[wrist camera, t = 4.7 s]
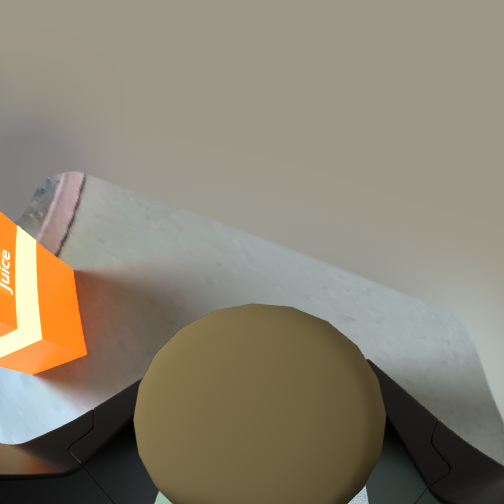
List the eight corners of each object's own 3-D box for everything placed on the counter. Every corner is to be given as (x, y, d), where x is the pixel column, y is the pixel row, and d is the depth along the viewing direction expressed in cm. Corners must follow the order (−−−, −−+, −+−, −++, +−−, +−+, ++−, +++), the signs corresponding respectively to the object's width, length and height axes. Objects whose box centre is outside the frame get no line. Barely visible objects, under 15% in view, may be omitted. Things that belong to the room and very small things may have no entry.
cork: (203, 374, 15) (64, 317, 6) (313, 334, 16) (345, 213, 6) (240, 480, 13) (149, 589, 3) (356, 439, 13) (468, 497, 3)
